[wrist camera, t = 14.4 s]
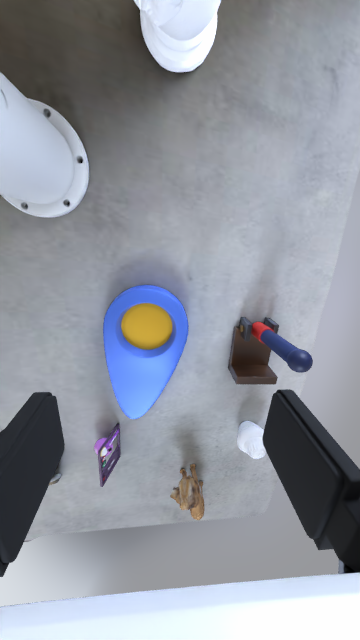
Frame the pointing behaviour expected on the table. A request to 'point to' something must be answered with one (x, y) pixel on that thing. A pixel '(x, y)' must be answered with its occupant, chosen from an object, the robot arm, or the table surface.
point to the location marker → (143, 345)
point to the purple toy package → (104, 449)
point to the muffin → (251, 439)
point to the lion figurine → (190, 494)
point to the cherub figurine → (178, 31)
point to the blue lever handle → (282, 348)
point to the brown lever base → (250, 355)
